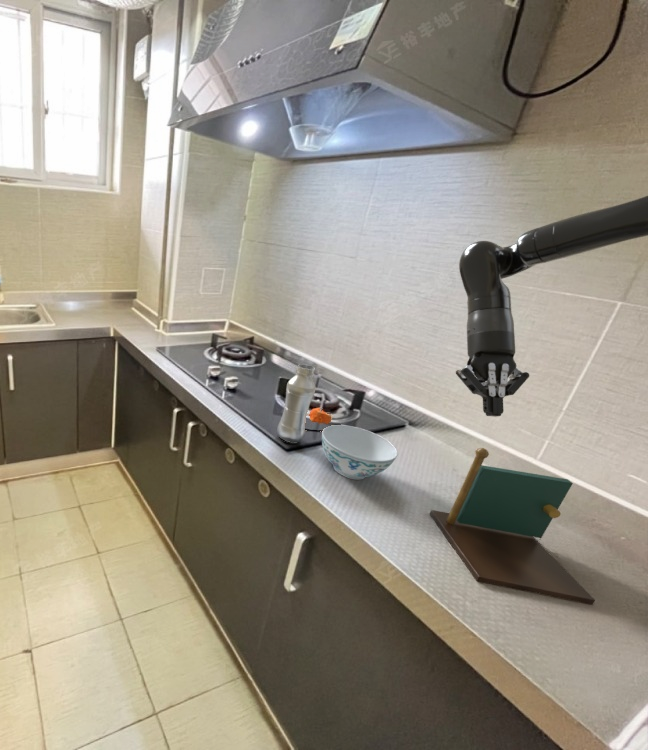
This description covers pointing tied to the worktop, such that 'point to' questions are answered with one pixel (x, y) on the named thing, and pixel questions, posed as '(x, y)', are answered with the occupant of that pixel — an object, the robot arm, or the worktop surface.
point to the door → (513, 501)
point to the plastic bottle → (297, 404)
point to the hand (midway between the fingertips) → (493, 415)
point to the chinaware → (357, 451)
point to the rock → (319, 416)
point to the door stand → (505, 552)
